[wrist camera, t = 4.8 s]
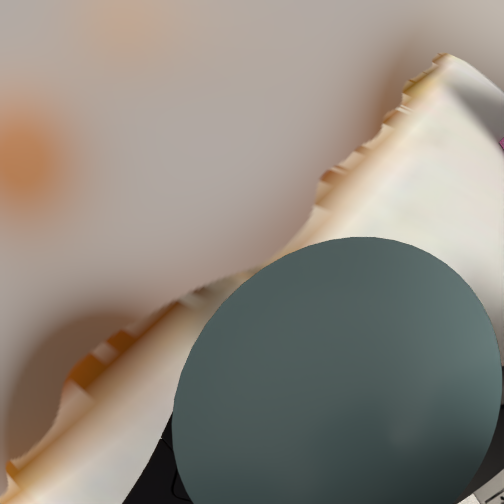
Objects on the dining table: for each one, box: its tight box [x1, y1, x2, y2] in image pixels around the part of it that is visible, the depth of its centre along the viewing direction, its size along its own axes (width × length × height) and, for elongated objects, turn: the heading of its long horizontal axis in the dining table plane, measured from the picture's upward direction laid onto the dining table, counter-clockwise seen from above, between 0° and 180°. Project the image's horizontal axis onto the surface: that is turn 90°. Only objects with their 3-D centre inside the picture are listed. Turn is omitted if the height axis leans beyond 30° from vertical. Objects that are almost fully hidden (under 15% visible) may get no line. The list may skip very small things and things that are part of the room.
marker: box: [172, 237, 502, 504], centre depth 8 cm, size 4×4×13 cm
